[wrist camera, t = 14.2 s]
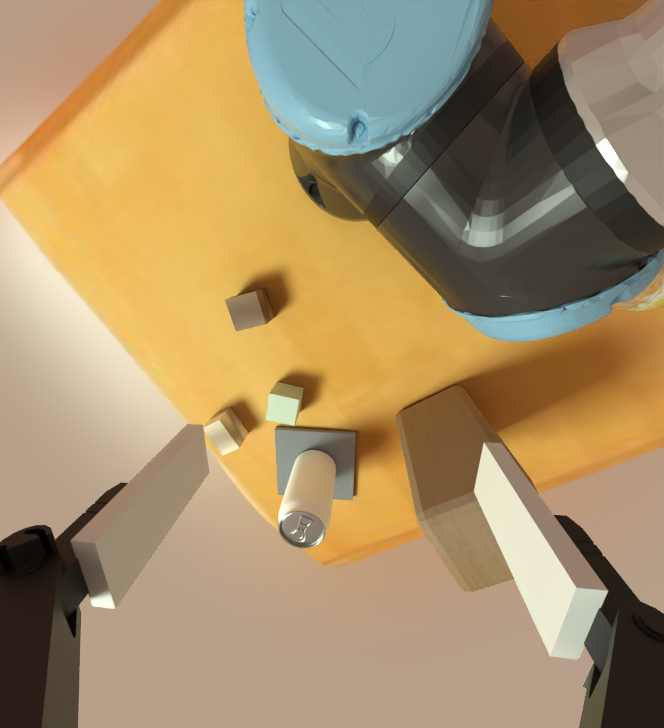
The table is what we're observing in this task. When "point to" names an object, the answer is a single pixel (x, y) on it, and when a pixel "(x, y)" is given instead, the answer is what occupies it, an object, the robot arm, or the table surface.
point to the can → (308, 500)
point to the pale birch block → (225, 431)
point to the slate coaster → (327, 441)
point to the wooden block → (452, 484)
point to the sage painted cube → (284, 403)
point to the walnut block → (250, 309)
